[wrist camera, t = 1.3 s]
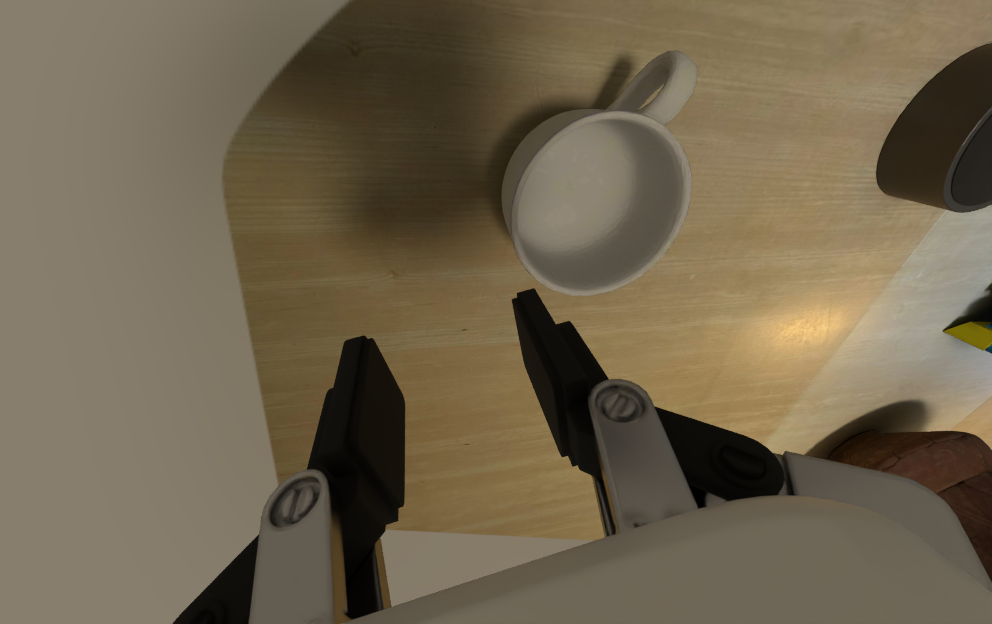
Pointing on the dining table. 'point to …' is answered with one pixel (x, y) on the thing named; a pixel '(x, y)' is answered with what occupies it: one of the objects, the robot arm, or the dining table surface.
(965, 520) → the pottery vessel
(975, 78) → the milk pan
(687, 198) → the teacup
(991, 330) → the decorative book
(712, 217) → the dining table surface
